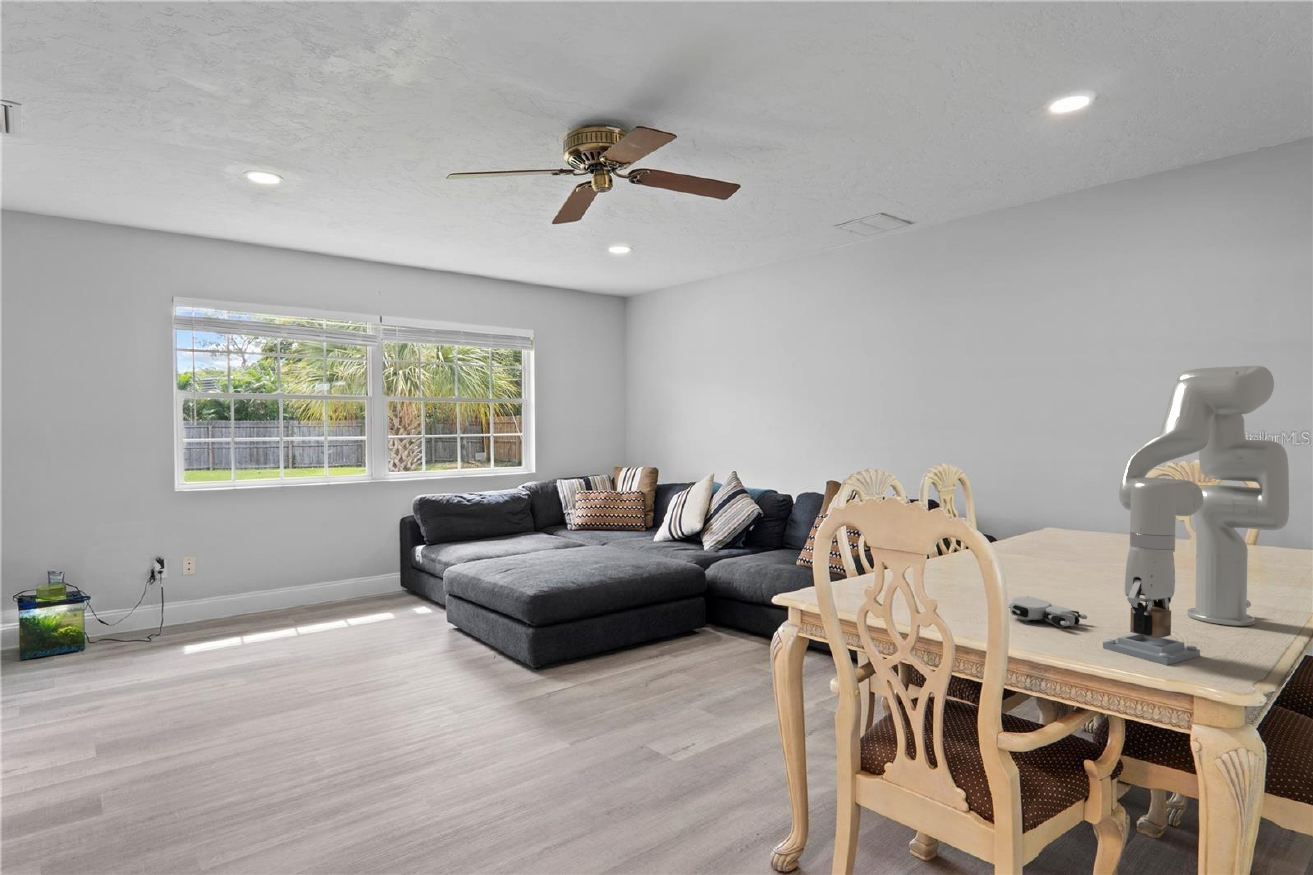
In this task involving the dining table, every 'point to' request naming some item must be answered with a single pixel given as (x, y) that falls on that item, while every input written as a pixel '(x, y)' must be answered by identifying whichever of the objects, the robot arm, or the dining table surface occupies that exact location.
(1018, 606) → the robot toy
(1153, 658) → the base plate
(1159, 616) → the walnut cube
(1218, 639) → the dining table surface
